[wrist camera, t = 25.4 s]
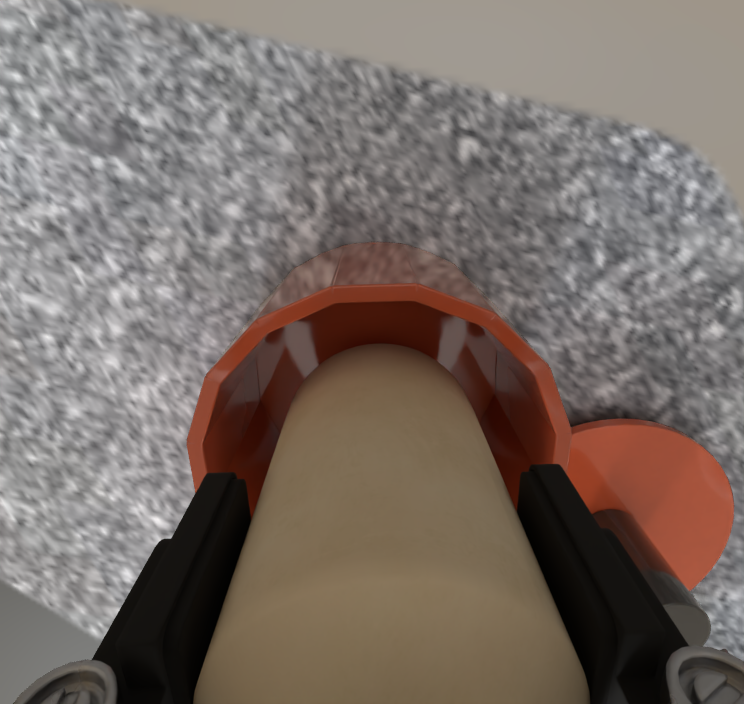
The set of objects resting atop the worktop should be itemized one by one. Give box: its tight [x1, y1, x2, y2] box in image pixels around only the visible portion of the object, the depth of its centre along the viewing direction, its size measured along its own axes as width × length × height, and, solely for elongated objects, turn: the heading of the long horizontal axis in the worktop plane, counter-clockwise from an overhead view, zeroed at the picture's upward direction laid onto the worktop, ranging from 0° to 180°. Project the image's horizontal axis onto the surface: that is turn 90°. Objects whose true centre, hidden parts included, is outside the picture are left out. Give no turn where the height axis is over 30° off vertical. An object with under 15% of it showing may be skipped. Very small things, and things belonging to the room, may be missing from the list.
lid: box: [567, 419, 734, 646], centre depth 18 cm, size 10×10×6 cm
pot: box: [187, 242, 572, 520], centre depth 15 cm, size 9×9×6 cm
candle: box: [193, 343, 590, 704], centre depth 10 cm, size 6×6×10 cm
